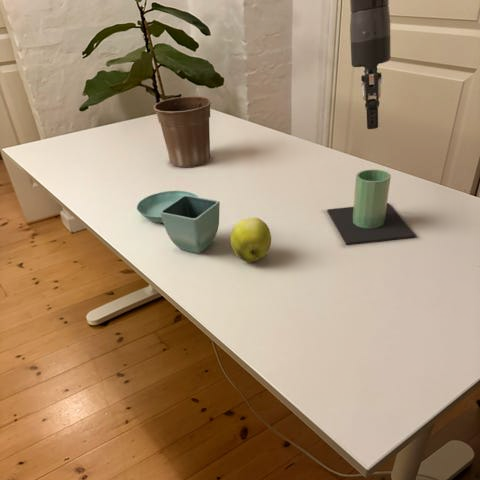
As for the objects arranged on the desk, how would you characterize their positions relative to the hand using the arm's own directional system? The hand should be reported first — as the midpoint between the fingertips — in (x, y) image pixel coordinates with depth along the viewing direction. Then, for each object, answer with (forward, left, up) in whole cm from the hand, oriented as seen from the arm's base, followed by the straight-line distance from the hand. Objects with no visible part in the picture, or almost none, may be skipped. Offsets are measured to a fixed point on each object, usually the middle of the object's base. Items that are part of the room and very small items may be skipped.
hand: (372, 124), depth 98 cm
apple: (+29, +22, -17) cm, 40 cm away
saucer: (+46, -3, -17) cm, 49 cm away
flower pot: (+40, +15, -17) cm, 46 cm away
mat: (+3, +13, -17) cm, 21 cm away
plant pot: (+41, -39, -17) cm, 59 cm away
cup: (+3, +13, -16) cm, 21 cm away
